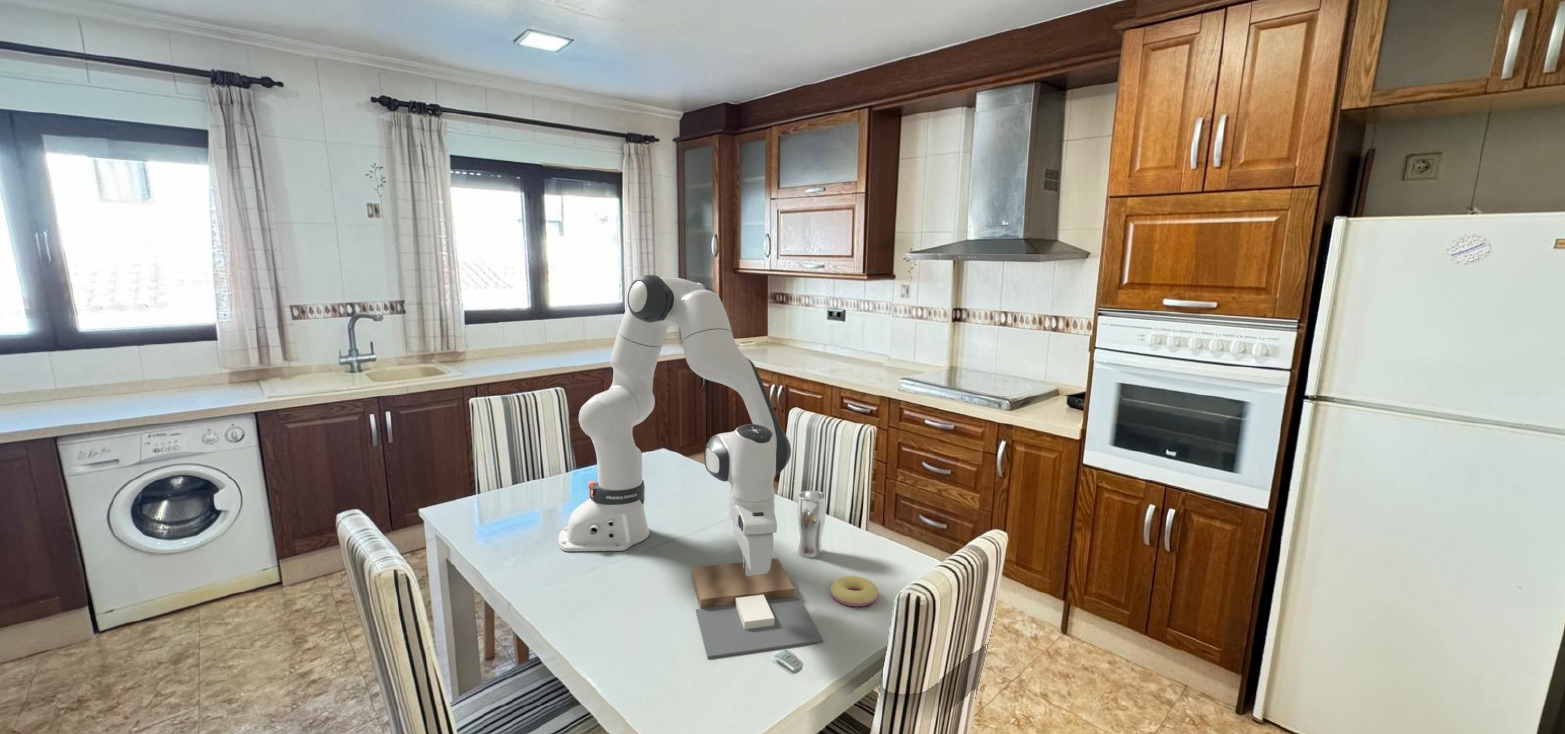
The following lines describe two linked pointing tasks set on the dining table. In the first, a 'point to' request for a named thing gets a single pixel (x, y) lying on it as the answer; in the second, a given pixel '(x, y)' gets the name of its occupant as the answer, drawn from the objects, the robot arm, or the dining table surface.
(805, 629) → the mat
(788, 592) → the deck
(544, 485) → the dining table surface
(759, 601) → the tile
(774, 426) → the robot arm
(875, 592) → the donut
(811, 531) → the beer glass
